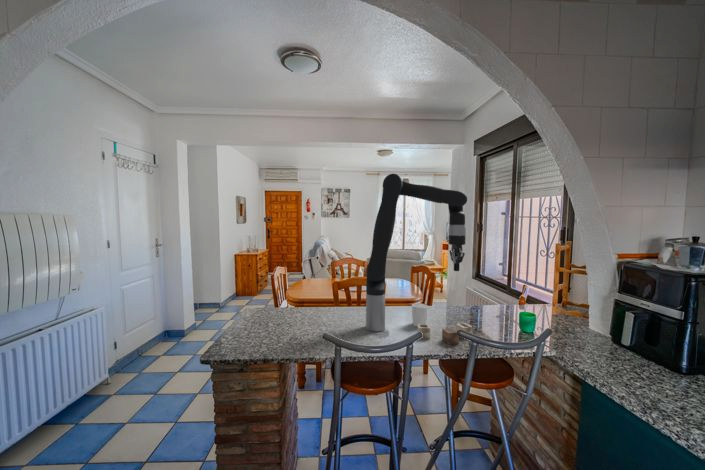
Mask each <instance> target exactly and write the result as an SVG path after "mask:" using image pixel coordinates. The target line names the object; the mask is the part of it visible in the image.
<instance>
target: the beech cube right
mask: <svg viewBox="0 0 705 470" xmlns="http://www.w3.org/2000/svg"><path fill="white" fill-rule="evenodd" d="M455 327H456V328H455V330H456V331H457V330H464V331H467V332H469V333H472V334H473V331H474V330H473V328H474V327H473V326H472V325H470V324H469V323H466V322H462V323H455Z"/></svg>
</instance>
